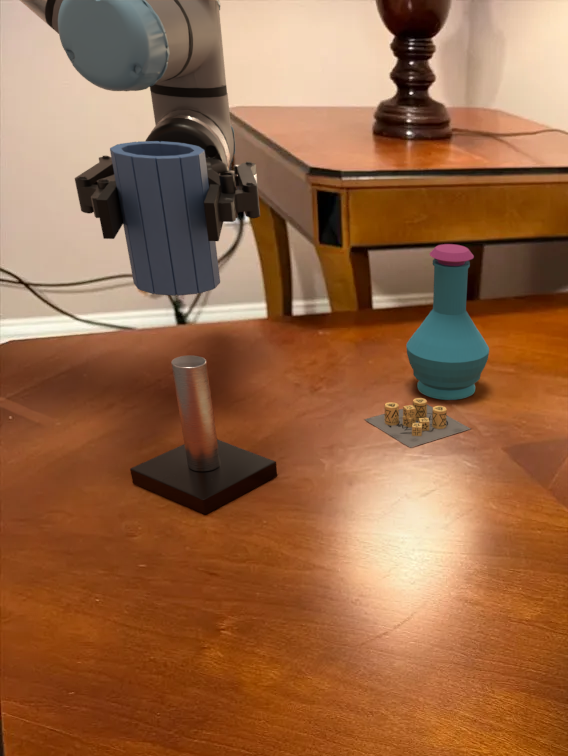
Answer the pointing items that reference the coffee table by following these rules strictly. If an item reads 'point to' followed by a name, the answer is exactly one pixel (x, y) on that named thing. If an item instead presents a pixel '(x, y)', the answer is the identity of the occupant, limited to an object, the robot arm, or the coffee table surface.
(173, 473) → the peg on square base
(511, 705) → the coffee table surface
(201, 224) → the blue sleeve
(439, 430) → the dice set
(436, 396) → the perfume bottle
